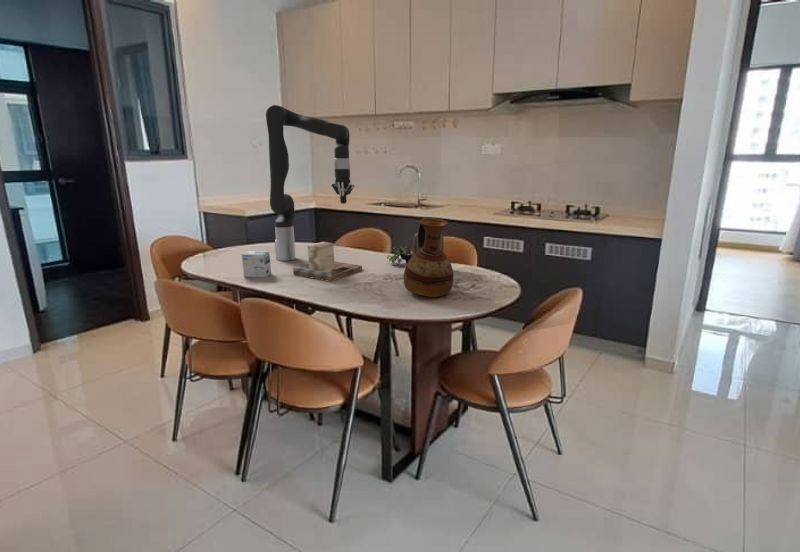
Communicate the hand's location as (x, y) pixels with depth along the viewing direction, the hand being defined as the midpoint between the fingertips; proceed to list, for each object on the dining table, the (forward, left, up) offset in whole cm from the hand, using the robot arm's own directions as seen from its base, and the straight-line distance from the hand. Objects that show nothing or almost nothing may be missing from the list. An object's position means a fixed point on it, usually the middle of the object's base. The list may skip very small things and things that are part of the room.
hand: (343, 203), depth 232 cm
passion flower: (+30, +6, -29) cm, 42 cm away
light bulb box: (-16, -44, -29) cm, 55 cm away
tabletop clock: (+46, +4, -29) cm, 55 cm away
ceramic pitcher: (+63, -27, -29) cm, 75 cm away
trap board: (+8, -23, -29) cm, 38 cm away
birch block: (+8, -27, -27) cm, 39 cm away
